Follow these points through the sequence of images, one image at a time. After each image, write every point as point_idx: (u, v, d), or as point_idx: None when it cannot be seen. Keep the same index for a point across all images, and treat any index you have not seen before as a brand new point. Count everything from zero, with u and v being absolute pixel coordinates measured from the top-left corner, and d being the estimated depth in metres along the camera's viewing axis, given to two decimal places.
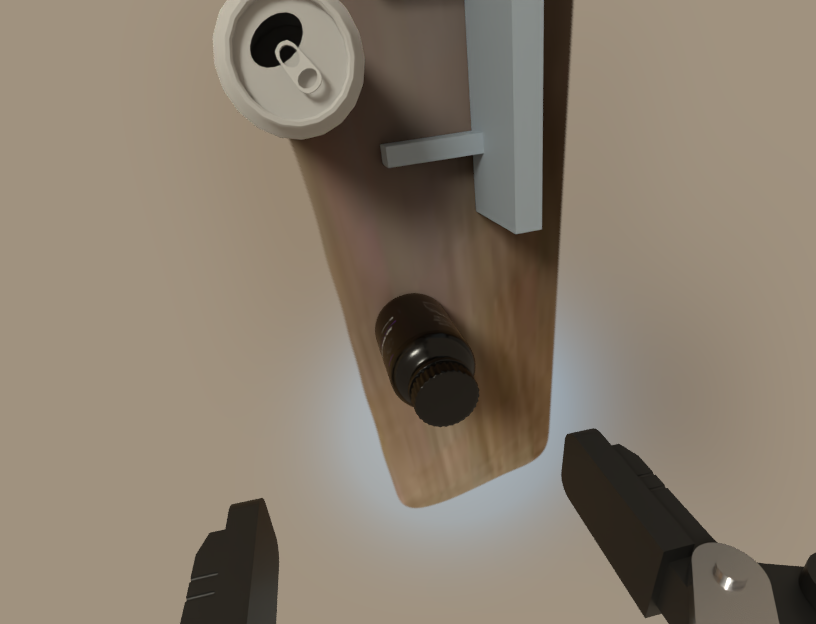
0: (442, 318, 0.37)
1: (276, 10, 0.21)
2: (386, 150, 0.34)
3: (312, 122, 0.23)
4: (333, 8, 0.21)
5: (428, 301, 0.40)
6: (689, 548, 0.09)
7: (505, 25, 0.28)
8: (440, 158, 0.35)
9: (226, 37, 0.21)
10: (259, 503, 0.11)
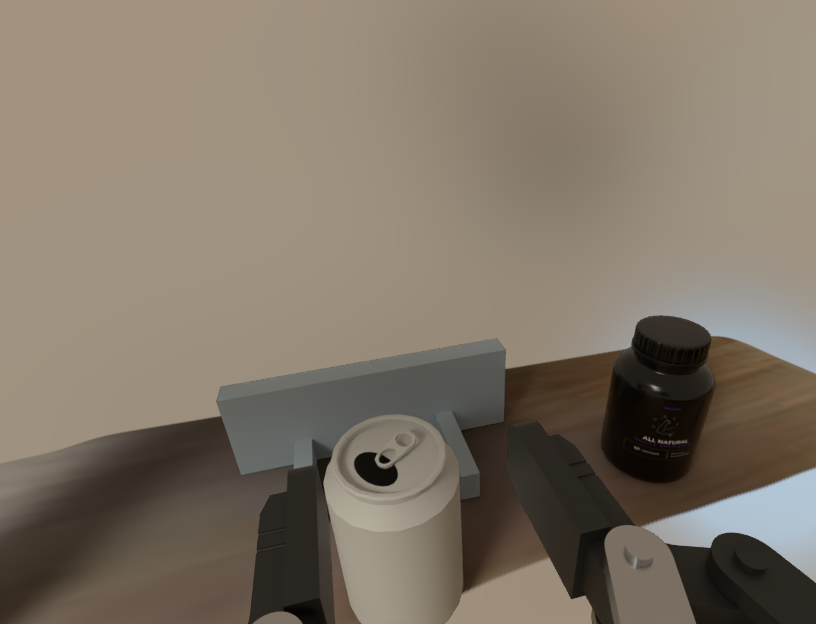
0: (608, 395, 0.37)
1: (352, 469, 0.24)
2: (464, 476, 0.35)
3: (439, 435, 0.25)
4: (351, 429, 0.26)
5: (603, 429, 0.38)
6: (606, 531, 0.09)
7: (359, 385, 0.38)
8: (462, 437, 0.38)
9: (375, 495, 0.22)
10: (315, 468, 0.11)
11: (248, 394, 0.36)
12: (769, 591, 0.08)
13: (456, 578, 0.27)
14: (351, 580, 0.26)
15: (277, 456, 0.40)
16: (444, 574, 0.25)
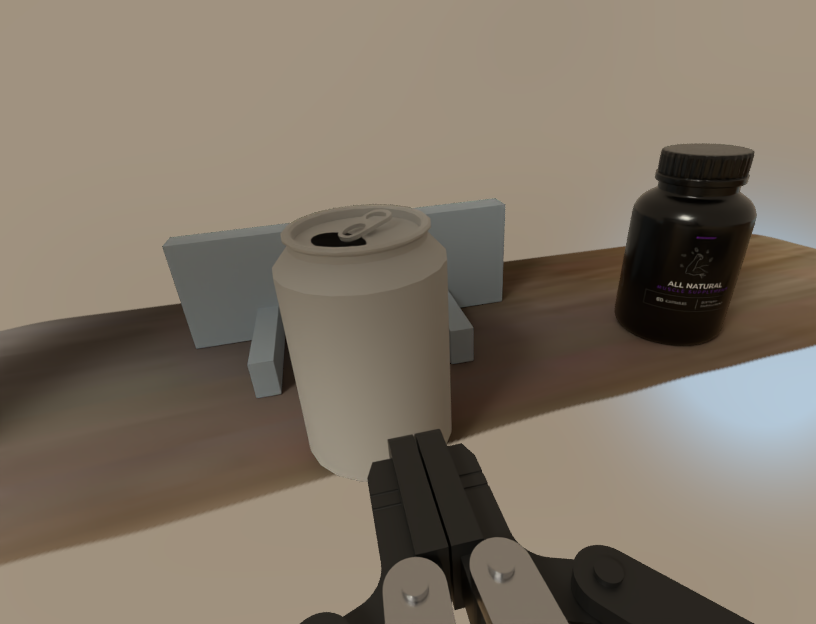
0: (625, 249, 0.32)
1: (308, 242, 0.19)
2: (454, 331, 0.29)
3: (422, 212, 0.20)
4: (310, 214, 0.21)
5: (618, 293, 0.33)
6: (479, 543, 0.09)
7: None
8: (453, 301, 0.33)
9: (332, 247, 0.16)
10: (413, 437, 0.12)
11: (201, 241, 0.31)
12: (618, 605, 0.08)
13: (442, 406, 0.21)
14: (308, 398, 0.20)
15: (238, 327, 0.34)
16: (426, 387, 0.20)
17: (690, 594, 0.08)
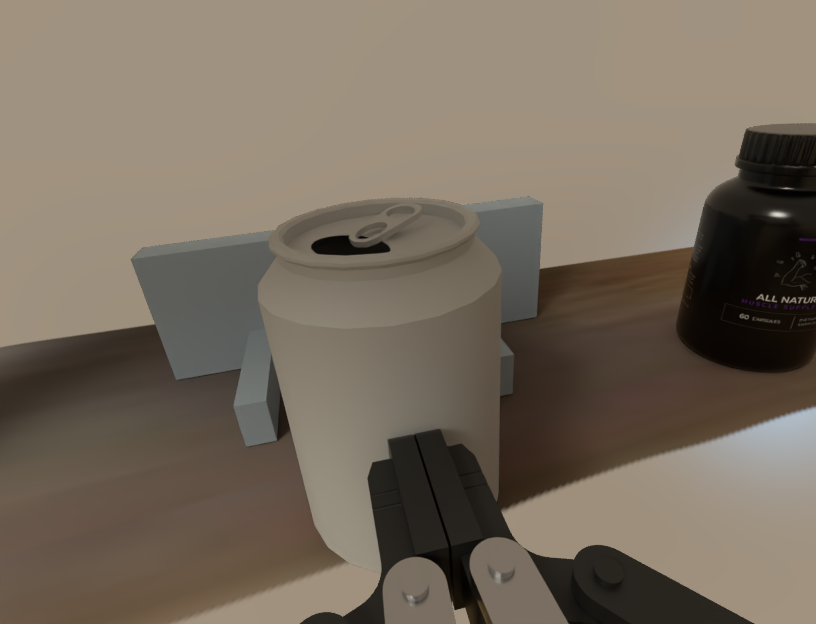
0: (693, 254, 0.26)
1: (307, 249, 0.13)
2: None
3: (463, 206, 0.14)
4: (310, 212, 0.15)
5: (683, 308, 0.27)
6: (479, 543, 0.09)
7: None
8: None
9: (343, 256, 0.11)
10: (413, 437, 0.12)
11: (179, 251, 0.25)
12: (618, 605, 0.08)
13: (491, 468, 0.16)
14: (309, 464, 0.14)
15: (226, 353, 0.28)
16: (475, 448, 0.14)
17: (690, 594, 0.08)
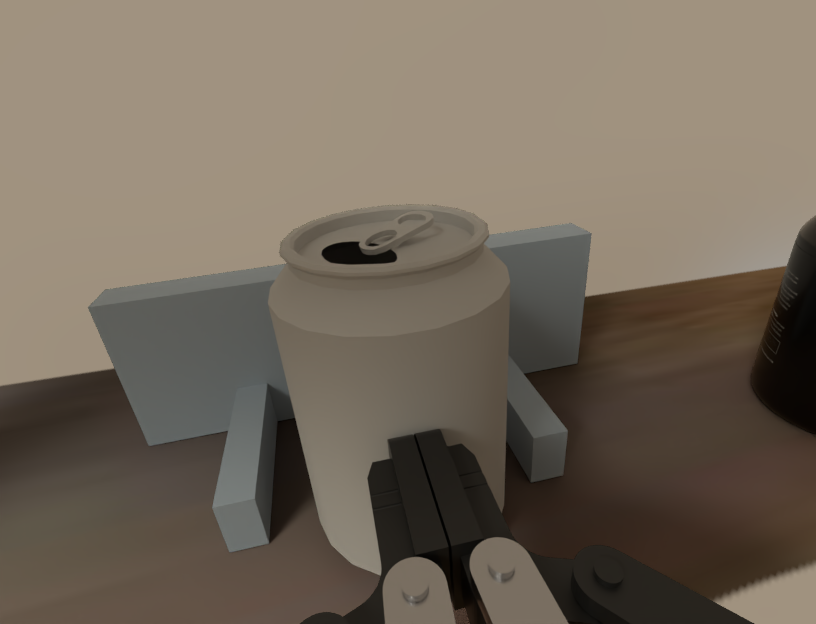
0: (781, 299, 0.21)
1: (318, 255, 0.14)
2: (539, 437, 0.19)
3: (475, 216, 0.14)
4: (326, 216, 0.16)
5: (764, 362, 0.22)
6: (479, 543, 0.09)
7: None
8: (523, 376, 0.22)
9: (346, 265, 0.11)
10: (413, 437, 0.12)
11: (148, 297, 0.20)
12: (618, 605, 0.08)
13: (495, 479, 0.15)
14: (313, 464, 0.15)
15: (209, 414, 0.24)
16: None
17: (690, 594, 0.08)
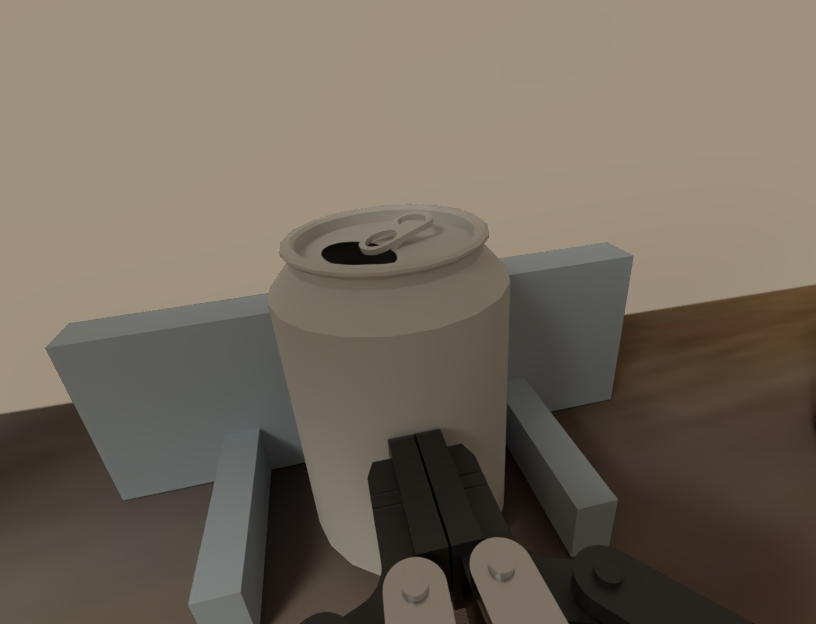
0: None
1: (317, 255, 0.14)
2: (583, 508, 0.16)
3: (475, 216, 0.14)
4: (325, 216, 0.16)
5: None
6: (479, 543, 0.09)
7: None
8: (556, 423, 0.19)
9: (347, 266, 0.11)
10: (413, 437, 0.12)
11: (118, 334, 0.17)
12: (618, 605, 0.08)
13: (495, 479, 0.16)
14: (313, 464, 0.15)
15: (193, 464, 0.20)
16: None
17: (690, 594, 0.08)
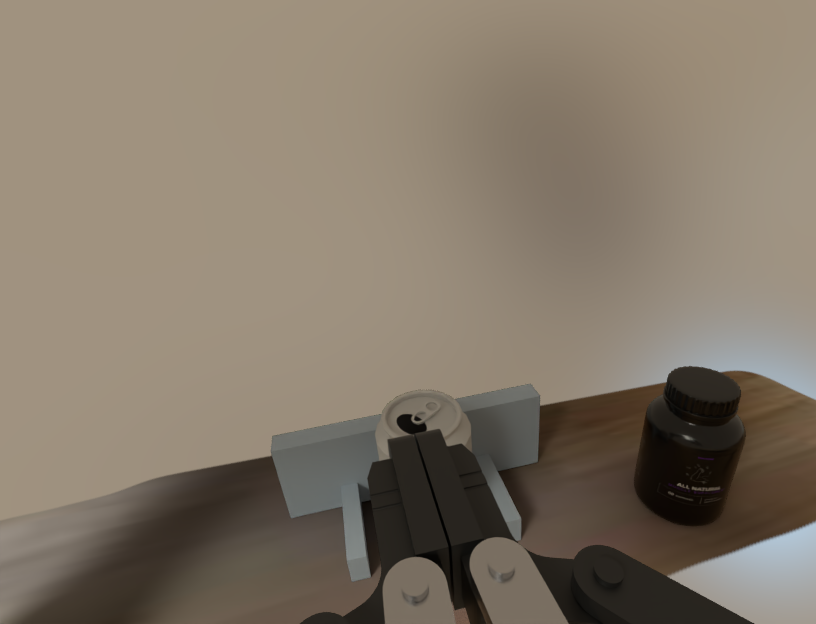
0: (641, 441, 0.39)
1: (395, 424, 0.35)
2: (506, 522, 0.36)
3: (457, 404, 0.36)
4: (394, 398, 0.37)
5: (636, 472, 0.40)
6: (478, 543, 0.09)
7: None
8: (501, 481, 0.40)
9: None
10: (413, 437, 0.12)
11: (300, 444, 0.39)
12: (618, 605, 0.08)
13: None
14: None
15: (325, 500, 0.42)
16: None
17: (690, 594, 0.08)
